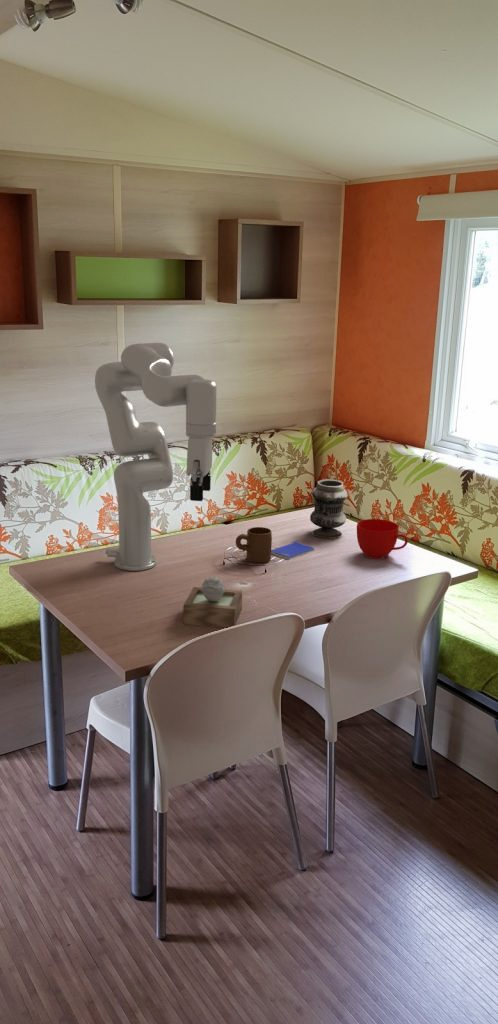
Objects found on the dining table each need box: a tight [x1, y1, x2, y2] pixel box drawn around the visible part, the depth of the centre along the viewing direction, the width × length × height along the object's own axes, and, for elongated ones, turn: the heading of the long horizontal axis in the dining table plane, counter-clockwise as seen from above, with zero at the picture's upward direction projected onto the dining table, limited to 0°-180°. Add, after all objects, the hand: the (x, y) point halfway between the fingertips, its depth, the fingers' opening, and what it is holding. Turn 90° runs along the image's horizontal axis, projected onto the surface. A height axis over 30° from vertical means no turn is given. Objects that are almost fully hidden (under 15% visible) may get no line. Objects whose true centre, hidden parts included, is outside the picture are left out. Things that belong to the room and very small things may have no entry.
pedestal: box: [182, 586, 243, 628], centre depth 216 cm, size 13×12×5 cm
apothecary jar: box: [309, 479, 348, 539], centre depth 281 cm, size 12×12×18 cm
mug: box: [235, 526, 273, 564], centre depth 256 cm, size 12×8×9 cm, turn 121°
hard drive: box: [271, 541, 315, 561], centre depth 266 cm, size 2×8×12 cm
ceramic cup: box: [356, 518, 409, 560], centre depth 262 cm, size 13×17×10 cm
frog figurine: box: [200, 575, 226, 602], centre depth 215 cm, size 6×7×7 cm
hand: (200, 495), depth 216 cm, fingers open, 9 cm apart
